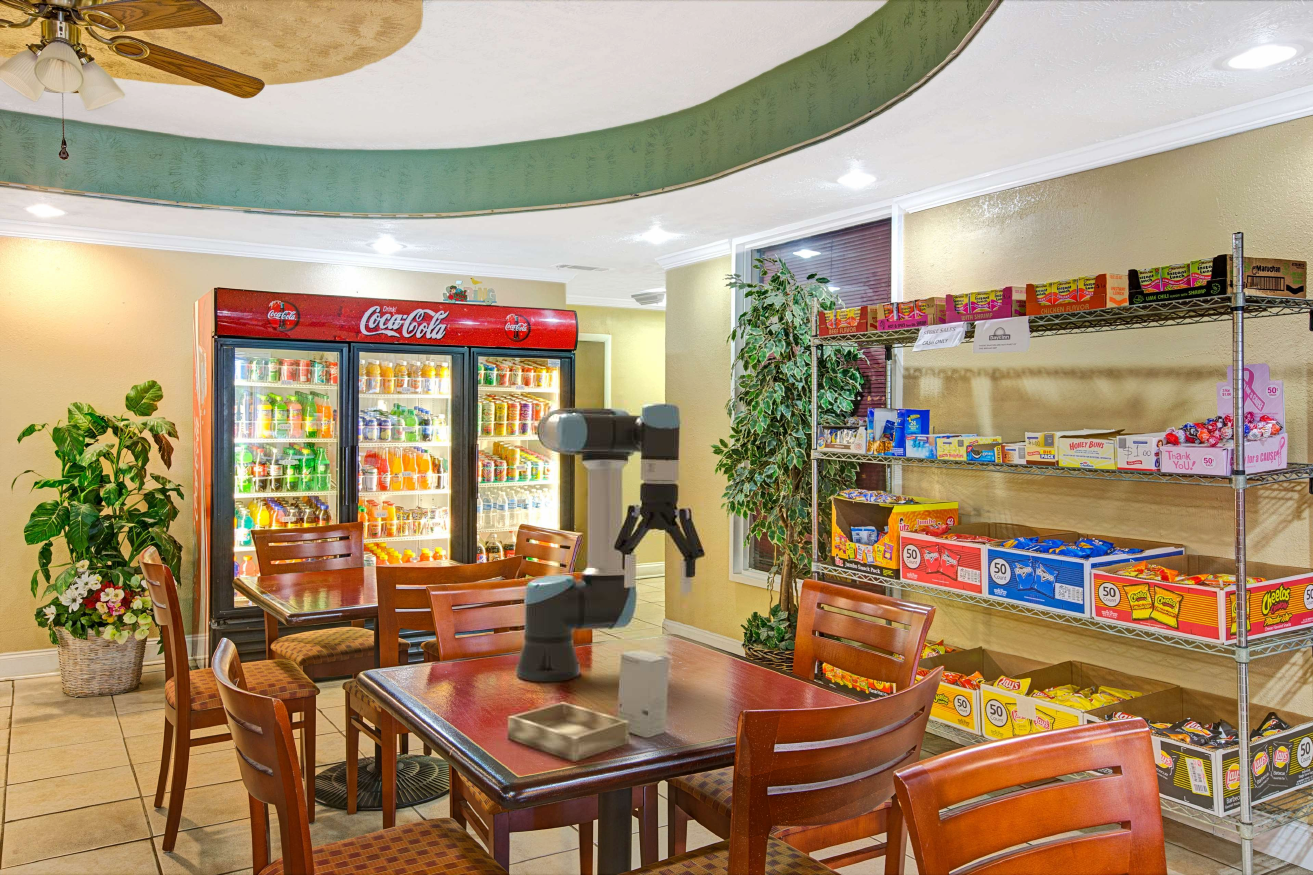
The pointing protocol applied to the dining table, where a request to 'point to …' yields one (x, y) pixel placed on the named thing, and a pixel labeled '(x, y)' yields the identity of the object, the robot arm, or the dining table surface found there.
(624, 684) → the skincare box
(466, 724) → the dining table surface
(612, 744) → the tray
